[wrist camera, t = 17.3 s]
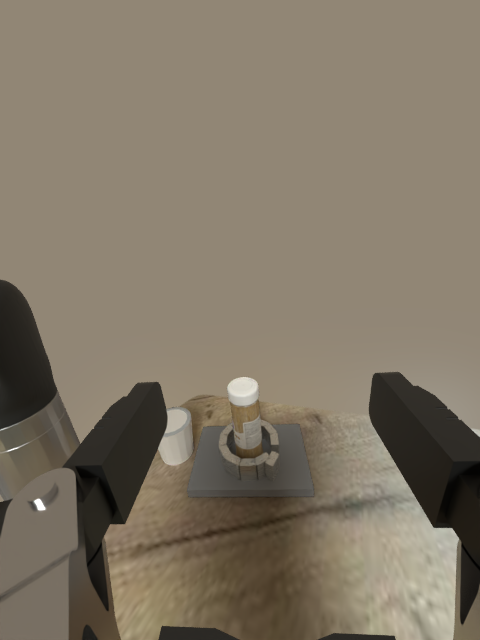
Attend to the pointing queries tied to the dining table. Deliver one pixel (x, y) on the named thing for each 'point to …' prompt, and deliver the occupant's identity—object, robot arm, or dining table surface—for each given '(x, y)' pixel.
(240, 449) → the sprinkles bottle
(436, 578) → the dining table surface
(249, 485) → the socket plate
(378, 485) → the dining table surface
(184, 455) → the white tapered cup
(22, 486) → the robot arm
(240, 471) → the stone block collar
